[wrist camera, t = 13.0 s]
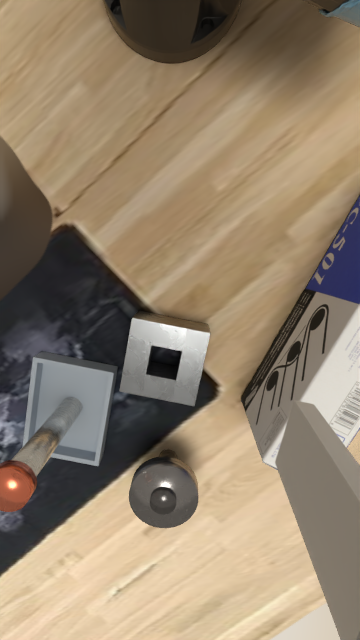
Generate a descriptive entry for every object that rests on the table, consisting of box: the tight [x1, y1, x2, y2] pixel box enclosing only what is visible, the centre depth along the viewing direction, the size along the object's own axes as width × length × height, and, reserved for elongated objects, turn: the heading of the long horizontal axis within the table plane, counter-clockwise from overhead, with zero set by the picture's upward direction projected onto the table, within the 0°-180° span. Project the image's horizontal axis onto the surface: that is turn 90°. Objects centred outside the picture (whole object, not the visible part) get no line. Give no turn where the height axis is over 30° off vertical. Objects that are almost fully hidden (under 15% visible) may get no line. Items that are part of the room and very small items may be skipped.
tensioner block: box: [120, 311, 210, 406], centre depth 42 cm, size 9×9×5 cm
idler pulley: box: [129, 449, 198, 528], centre depth 43 cm, size 8×8×9 cm
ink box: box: [241, 196, 360, 470], centre depth 36 cm, size 30×7×14 cm, turn 153°
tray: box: [23, 351, 118, 466], centre depth 45 cm, size 13×10×2 cm
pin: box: [0, 397, 82, 512], centre depth 37 cm, size 4×4×16 cm
